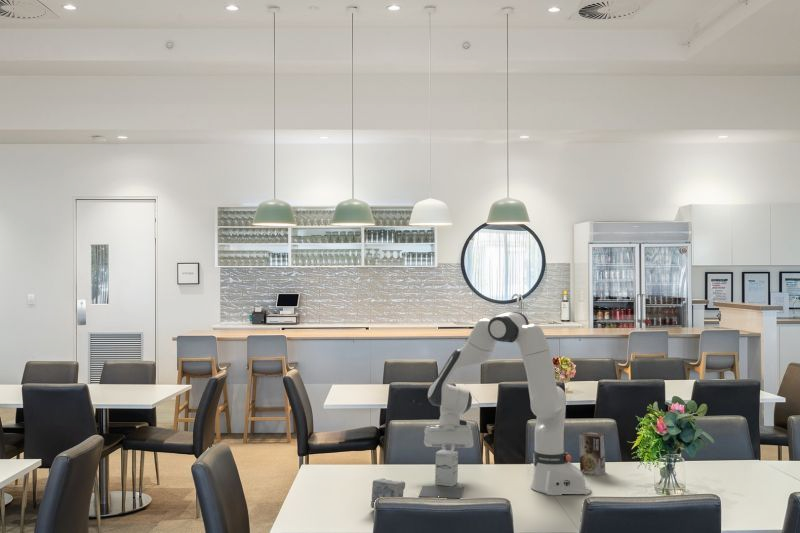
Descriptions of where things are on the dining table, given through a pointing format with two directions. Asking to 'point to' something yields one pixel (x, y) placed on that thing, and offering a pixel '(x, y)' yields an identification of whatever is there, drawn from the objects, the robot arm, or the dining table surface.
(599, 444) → the coffee box
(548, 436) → the robot arm
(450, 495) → the mat
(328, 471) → the dining table surface
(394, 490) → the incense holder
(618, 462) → the dining table surface
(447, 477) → the supplement box
